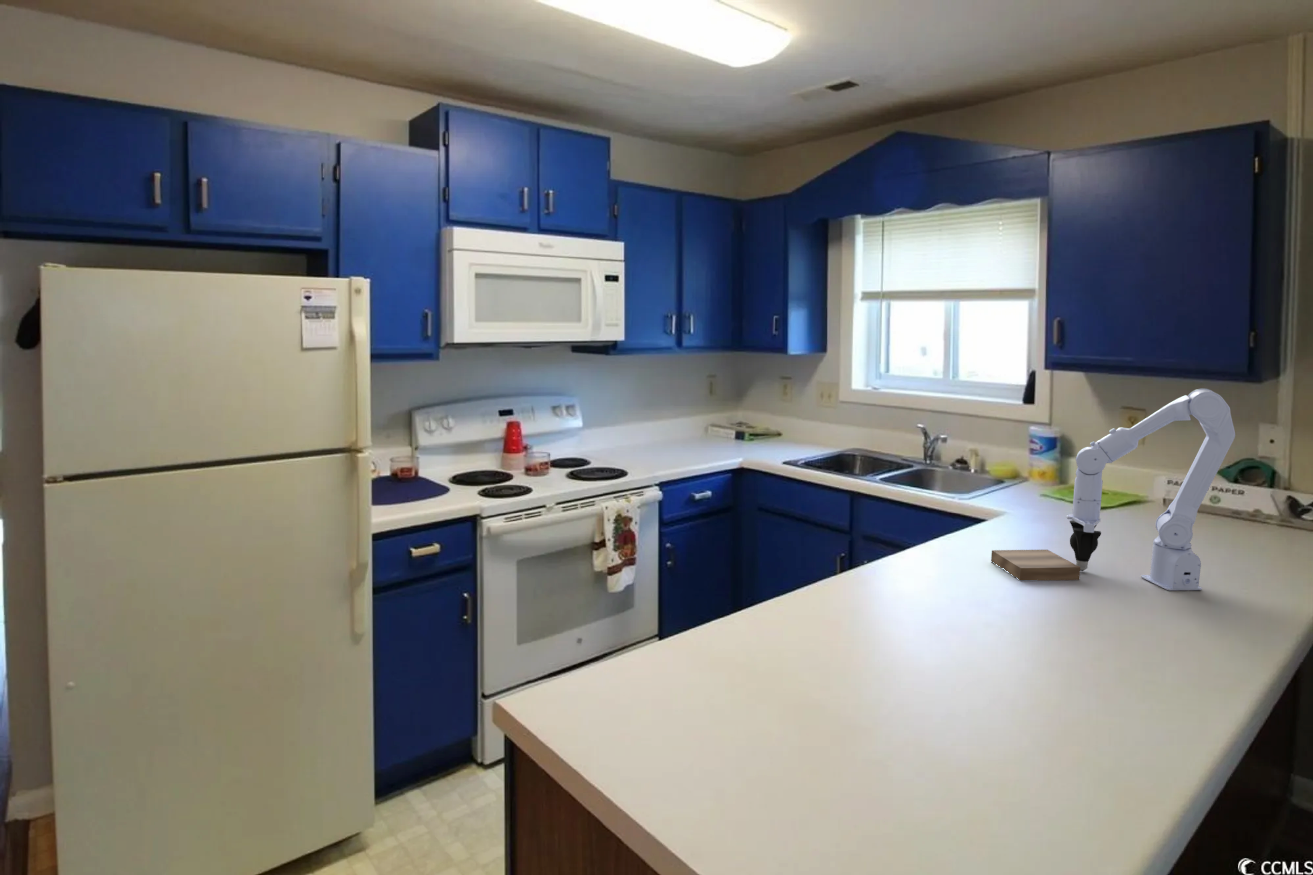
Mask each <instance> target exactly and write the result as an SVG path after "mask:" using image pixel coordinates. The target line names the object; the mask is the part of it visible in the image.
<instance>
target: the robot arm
mask: <svg viewBox="0 0 1313 875" xmlns="http://www.w3.org/2000/svg"><path fill="white" fill-rule="evenodd" d="M1231 413H1232V412H1231V408H1230V406H1229V404H1228V403H1227V401H1226V400H1225V399H1224V398H1223V397H1222V395H1220V394H1219V393H1217V392H1215V391H1213V390H1211V389H1209V388H1198V389H1194V390H1192V391H1191V392H1190V393H1189V394H1188V395H1186V394H1185V395H1183V396H1180V397H1178V398H1175V399H1174V400H1173V401H1170V402H1169V403H1167V404H1166V405H1163V406H1162V407H1161V408H1160V409H1158V410H1156V411H1155V412H1153V413H1152V414H1150V415H1149V416H1147V417H1146V418H1144V419H1142V420H1140V421H1139V422H1138V423H1136V424H1134V425H1133V426H1132V427H1131V426H1130V427H1122V426H1121V427H1118V428H1117V429H1116V428H1115V427H1114V428H1111V429H1110V430H1108V431H1109V434H1107V435H1105V436H1104V437H1102V438H1100V439H1099V440H1096V441H1094V440H1093V441H1091V442H1090V443H1089V445H1090V446H1086V447H1083V448H1082V449H1080V450H1079V451H1078V452H1077V455H1076V457H1075V462H1076V466H1077V468H1076V470H1075V475H1076V477H1075V478H1074V485H1073V500H1072V513H1071V514H1066V516H1065V518H1066V519H1067V520H1069V524H1070V525H1071V528H1072V532H1073V533H1074V532H1075V535H1076V538H1077V543H1078V554H1079V558H1080V559H1089V560H1090V558H1091V556H1092V555H1093V553H1092V551H1093V548H1094V545H1095V543H1096V541H1097V539H1098V540H1099V538H1100V536H1101V535H1102V532H1101V530H1095V529H1096V527H1097V525H1098V524H1100V523H1101V519H1102V518H1101V508H1102V507H1101V506H1102V494H1103V483H1104V482H1103V479H1102V478H1103V470H1105V467H1106V464H1112V463H1114V462H1115V461H1117V460H1119V459H1120V458H1122V457H1124V456H1125V455H1127V454H1129V453H1131V452H1132V451H1134V450H1136V449H1137V448H1138V447H1139V446H1138V445H1139V441H1140V440H1142V439H1143V438H1145V437H1146V436H1149V435H1151V434H1153V433H1155V432H1156V431H1158V430H1160V429H1161V428H1164V427H1165V426H1168V425H1169V424H1171V423H1172V422H1177V421H1178V422H1179V421H1180V422H1181V421H1191V416H1193V417H1194V418H1195V419H1196V420H1197V421H1198V422H1199V424H1200V426H1201V428H1202V430H1203V431H1204V433H1205V438H1204V439H1203V442H1202V444H1201V445H1200V447H1199V449H1198V452H1197V453H1196V456H1195V458H1194V460H1193V462H1192V463H1191V466H1190V467H1189V469H1188V471H1187V474H1186V476H1185V477H1184V479H1183V481H1182V484H1181V485H1180V487H1179V489H1178V491H1177V492H1176V493H1177V494H1176V495H1175V498H1174V499H1173V501H1172V502H1170V504H1169V505H1168V507H1167V509H1166V510H1165V511H1164V512H1163V513H1161V514H1160V515H1159V516H1158V517H1157V518H1156V520H1155V528H1156V530H1157V532H1158V535H1157V537H1156V538H1154V539H1153V541H1152V550H1151V551H1152V552H1151V562H1150V574H1140V577H1141V578H1142V579H1145V580H1146V581H1148V582H1150V583H1152V584H1154V585H1156V586H1159V587H1160V588H1163V589H1165V590H1167V591H1202V590H1203V587H1201V586H1200V577H1201V568H1202V561H1201V558H1200V557H1199V555H1197V554H1196V553H1194V551H1193V549H1192V545H1193V544H1192V543H1191V541H1192V540H1193V536H1194V533H1193V526H1194V524H1195V522H1196V520H1197V514H1198V510H1199V509H1200V507H1201V505H1202V503H1203V501H1204V498H1205V497H1206V495H1207V493H1208V491H1209V489H1210V487H1211V485H1212V483H1213V481H1214V479H1215V478H1216V475H1217V473H1218V471H1219V470H1220V467H1221V465H1222V464H1223V462H1224V460H1225V458H1226V455H1227V454H1228V451H1229V450H1230V448H1231V446H1232V444H1233V443H1234V440H1235V438H1236V432H1235V426H1234V422H1233V418H1232V414H1231Z"/></svg>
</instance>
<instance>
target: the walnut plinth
mask: <svg viewBox="0 0 1313 875" xmlns="http://www.w3.org/2000/svg"><path fill="white" fill-rule="evenodd" d="M991 561H992V562H994V563H995V564H997V565H998V566H1000V567H1001V568H1004V569H1005V570H1006V571H1008V572H1009V573H1010V574H1012V575H1013V576H1015V577H1017V578H1018V579H1019V580H1037V581H1079V580H1080V576H1081V575H1080V573H1081V571H1080V567H1079V566H1077V565H1076V563H1073V562H1071V561H1069V560H1068V559H1067V558H1064V557H1062V556H1061V555H1058V554H1056V553H1054V552H1053V551H1050V550H1049V549H1001V550H1000V549H995V550H993V549H992V550H991V557H990V562H991ZM992 562H991V563H992ZM995 564H994V565H995ZM998 566H997V567H998ZM1001 568H1000V569H1001ZM1009 573H1008V574H1009ZM1010 574H1009V575H1010ZM1012 575H1011V576H1012ZM1013 576H1012V577H1013ZM1015 577H1014V578H1015ZM1018 579H1017V580H1018ZM1019 580H1018V581H1019Z"/></svg>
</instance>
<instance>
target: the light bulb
mask: <svg viewBox="0 0 1313 875" xmlns="http://www.w3.org/2000/svg"><path fill="white" fill-rule="evenodd" d="M1069 545H1070V547H1071V549H1072V551H1073V553H1074V558H1075V565H1077V566H1079V567H1080V572H1084V571H1085V570H1087V569H1088V568H1089V567H1088V566H1089V561H1090V559H1080V558H1079V554H1078V543H1077V538H1076V535H1075V532H1073V533H1072V534H1071V536H1070V538H1069ZM1098 545H1099V538H1098V539H1097V541H1096V543H1095V545H1094V548H1093V551H1092V554H1093V553H1094V552H1095V551H1096V550H1097V548H1098V547H1099V546H1098Z"/></svg>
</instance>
